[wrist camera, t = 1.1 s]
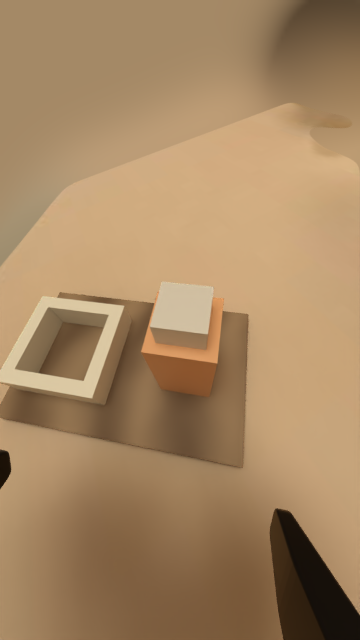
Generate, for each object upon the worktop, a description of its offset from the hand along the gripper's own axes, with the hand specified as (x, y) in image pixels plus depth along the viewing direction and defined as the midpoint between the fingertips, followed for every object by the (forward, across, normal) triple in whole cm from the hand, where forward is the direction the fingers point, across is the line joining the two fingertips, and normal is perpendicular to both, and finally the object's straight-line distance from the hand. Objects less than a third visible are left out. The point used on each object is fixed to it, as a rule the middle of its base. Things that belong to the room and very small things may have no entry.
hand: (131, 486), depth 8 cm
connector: (+14, 0, +3) cm, 15 cm away
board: (+15, +5, +4) cm, 16 cm away
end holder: (+14, +11, +3) cm, 18 cm away
